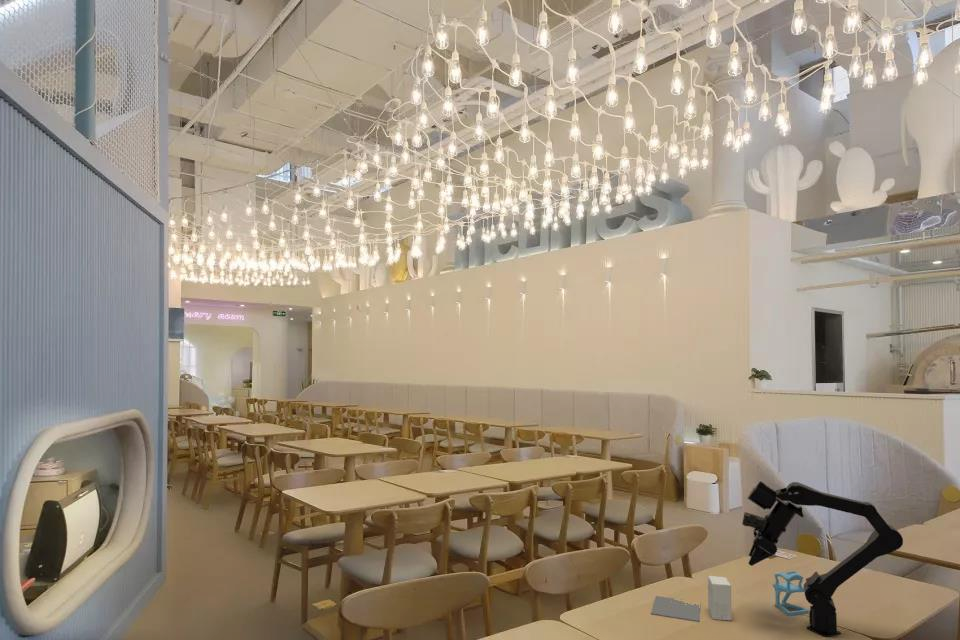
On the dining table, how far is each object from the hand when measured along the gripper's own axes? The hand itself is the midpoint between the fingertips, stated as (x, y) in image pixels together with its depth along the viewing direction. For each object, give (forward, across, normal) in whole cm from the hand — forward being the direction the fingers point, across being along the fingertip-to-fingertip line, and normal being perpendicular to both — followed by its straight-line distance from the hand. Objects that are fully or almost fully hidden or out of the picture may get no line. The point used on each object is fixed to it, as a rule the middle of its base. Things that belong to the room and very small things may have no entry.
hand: (750, 560), depth 190 cm
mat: (+26, +2, -9) cm, 28 cm away
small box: (+20, +1, +2) cm, 20 cm away
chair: (+9, -14, +18) cm, 25 cm away
